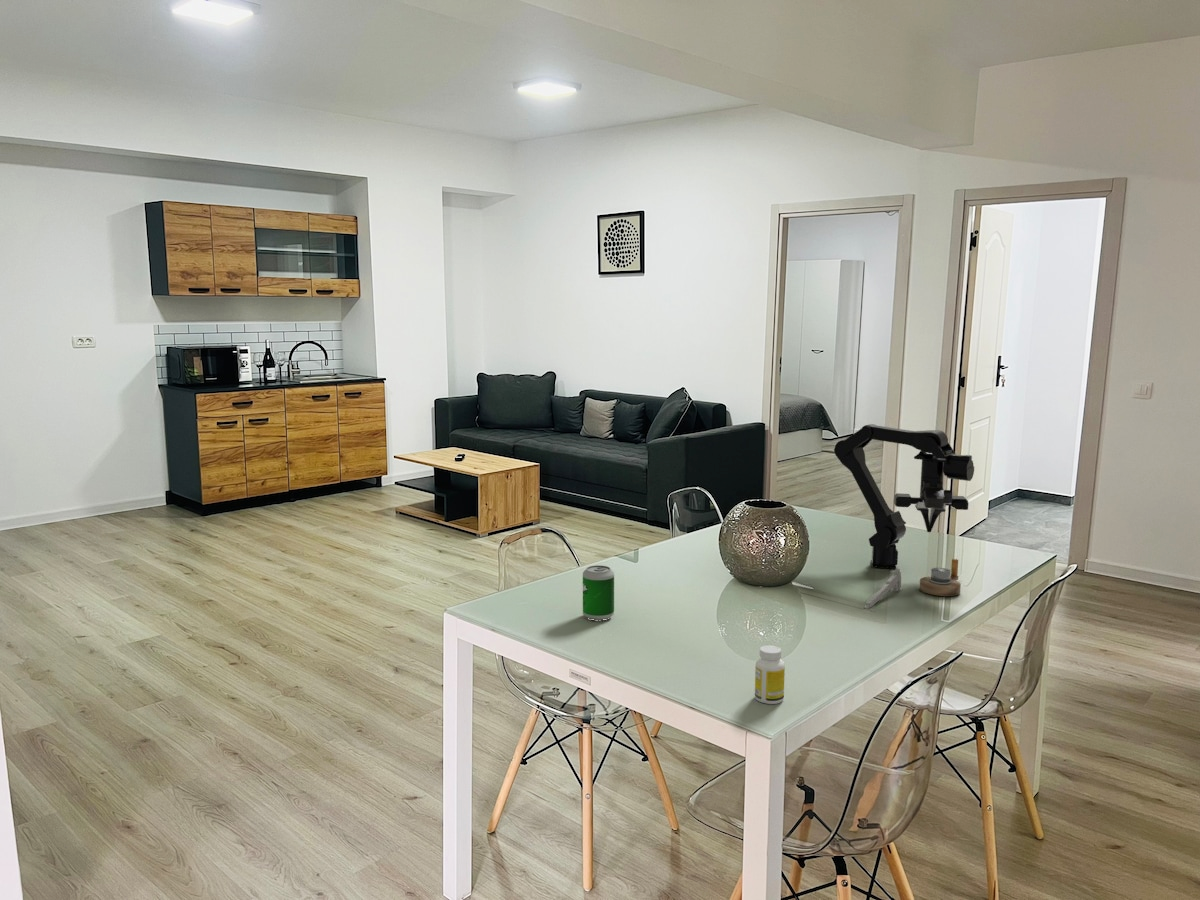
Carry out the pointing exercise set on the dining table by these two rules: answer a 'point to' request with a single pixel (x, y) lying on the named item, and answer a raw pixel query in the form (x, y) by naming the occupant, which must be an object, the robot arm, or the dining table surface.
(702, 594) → the dining table surface
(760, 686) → the supplement bottle
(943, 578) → the cover
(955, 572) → the turntable
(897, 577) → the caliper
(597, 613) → the soda can
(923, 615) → the dining table surface
